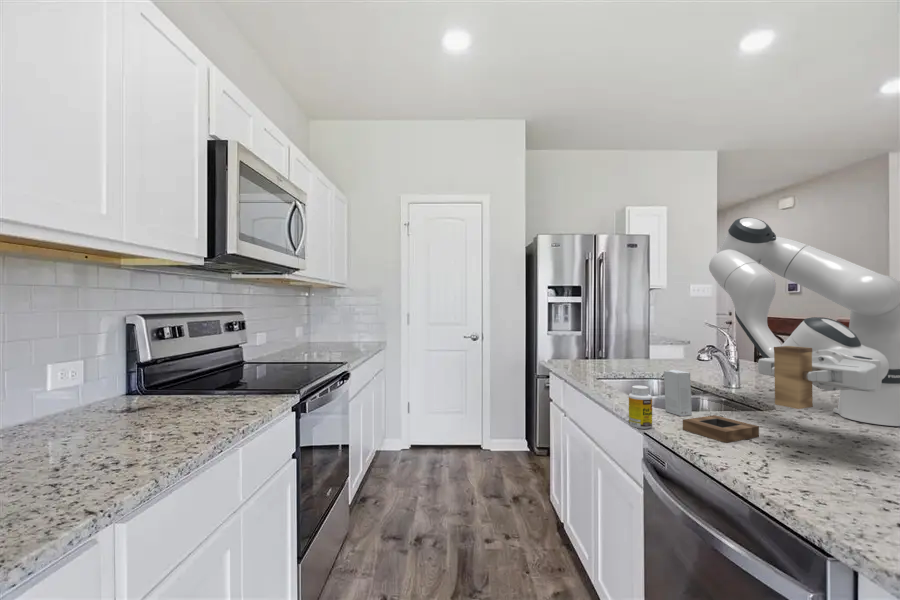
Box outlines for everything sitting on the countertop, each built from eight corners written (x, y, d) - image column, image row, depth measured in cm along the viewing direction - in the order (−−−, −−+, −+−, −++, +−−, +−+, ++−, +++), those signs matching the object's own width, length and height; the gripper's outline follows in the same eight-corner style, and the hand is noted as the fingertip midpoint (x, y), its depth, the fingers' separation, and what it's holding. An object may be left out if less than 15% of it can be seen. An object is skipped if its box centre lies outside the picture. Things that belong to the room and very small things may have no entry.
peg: (788, 402, 95) (787, 345, 95) (813, 406, 90) (812, 347, 90) (774, 404, 93) (773, 346, 93) (798, 409, 89) (798, 349, 89)
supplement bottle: (644, 431, 110) (643, 389, 110) (624, 425, 115) (623, 386, 115) (657, 427, 113) (656, 387, 113) (637, 422, 118) (636, 384, 118)
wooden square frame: (714, 424, 115) (714, 415, 115) (759, 436, 104) (758, 426, 105) (682, 429, 111) (682, 419, 111) (725, 442, 100) (725, 431, 100)
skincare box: (692, 415, 124) (692, 372, 124) (678, 416, 123) (678, 373, 123) (676, 410, 130) (676, 369, 130) (663, 411, 129) (663, 369, 130)
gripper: (779, 350, 106) (740, 353, 101) (890, 360, 87) (849, 365, 82) (779, 376, 106) (740, 381, 101) (890, 392, 87) (849, 399, 82)
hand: (790, 374), depth 91 cm, fingers closed on peg, 4 cm apart
